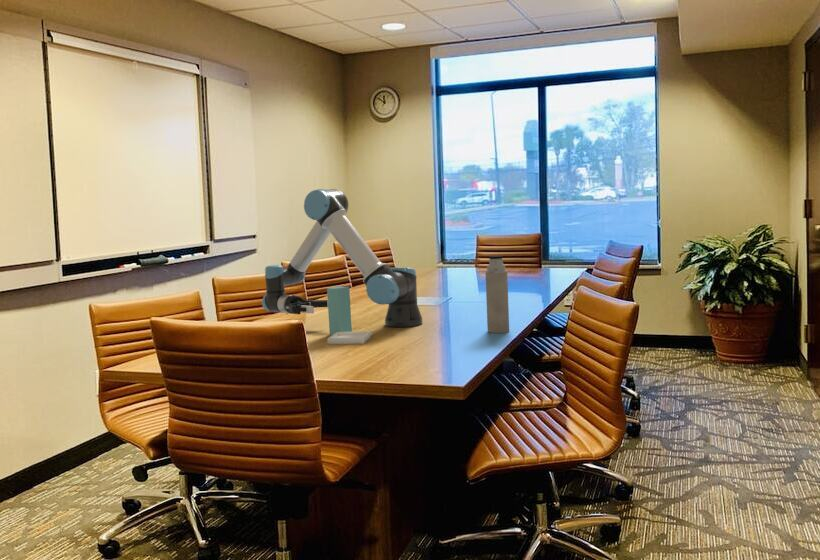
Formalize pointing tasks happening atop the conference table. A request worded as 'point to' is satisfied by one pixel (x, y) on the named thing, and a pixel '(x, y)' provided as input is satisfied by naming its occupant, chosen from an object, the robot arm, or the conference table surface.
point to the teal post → (339, 309)
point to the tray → (350, 337)
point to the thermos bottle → (497, 296)
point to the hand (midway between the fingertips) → (326, 307)
